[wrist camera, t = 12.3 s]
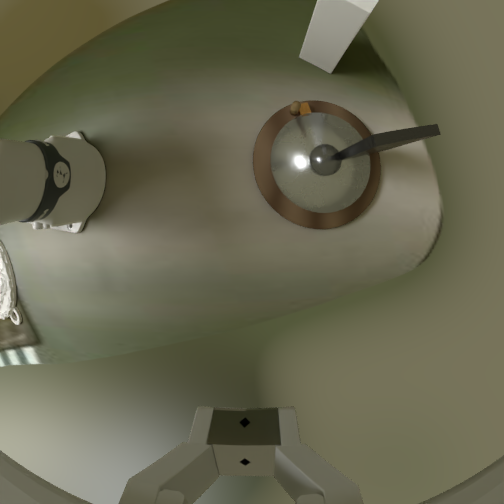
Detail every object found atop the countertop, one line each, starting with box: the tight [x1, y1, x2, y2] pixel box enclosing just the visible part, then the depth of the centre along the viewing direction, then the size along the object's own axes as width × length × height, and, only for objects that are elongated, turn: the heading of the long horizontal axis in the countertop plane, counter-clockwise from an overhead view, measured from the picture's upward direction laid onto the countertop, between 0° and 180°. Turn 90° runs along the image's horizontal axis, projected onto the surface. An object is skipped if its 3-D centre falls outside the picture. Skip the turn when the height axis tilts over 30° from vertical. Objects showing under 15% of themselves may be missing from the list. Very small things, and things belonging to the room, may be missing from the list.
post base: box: [253, 101, 381, 229], centre depth 37 cm, size 20×20×5 cm
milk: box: [299, 0, 379, 74], centre depth 24 cm, size 6×6×22 cm
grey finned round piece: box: [270, 103, 440, 213], centre depth 30 cm, size 18×17×15 cm
